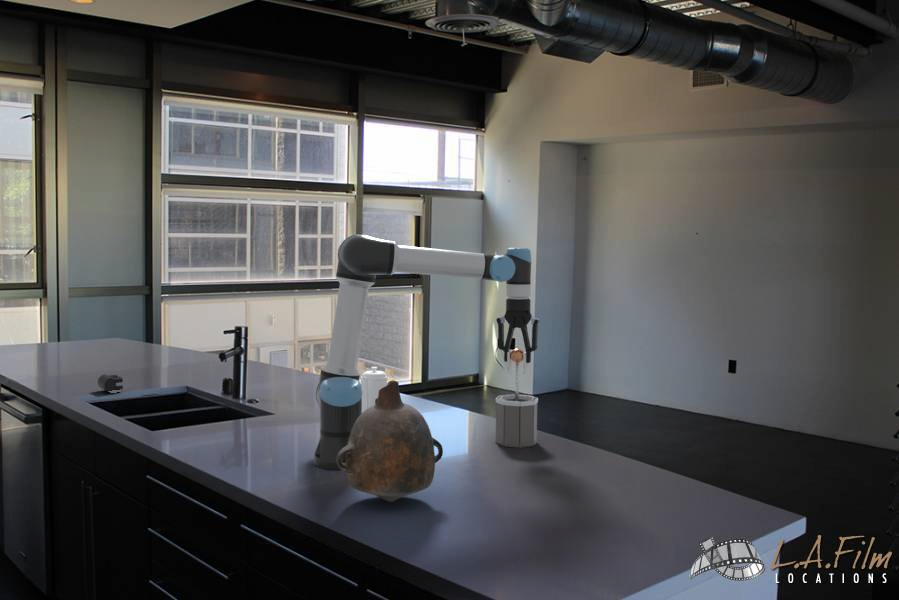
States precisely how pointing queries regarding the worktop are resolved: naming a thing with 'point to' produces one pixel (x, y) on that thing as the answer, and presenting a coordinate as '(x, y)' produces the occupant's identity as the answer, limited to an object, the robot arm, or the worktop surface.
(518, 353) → the copper ball knob
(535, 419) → the grey octagonal tube
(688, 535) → the worktop surface
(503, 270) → the robot arm
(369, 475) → the jug
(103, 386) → the end cap
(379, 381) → the coffeepot
